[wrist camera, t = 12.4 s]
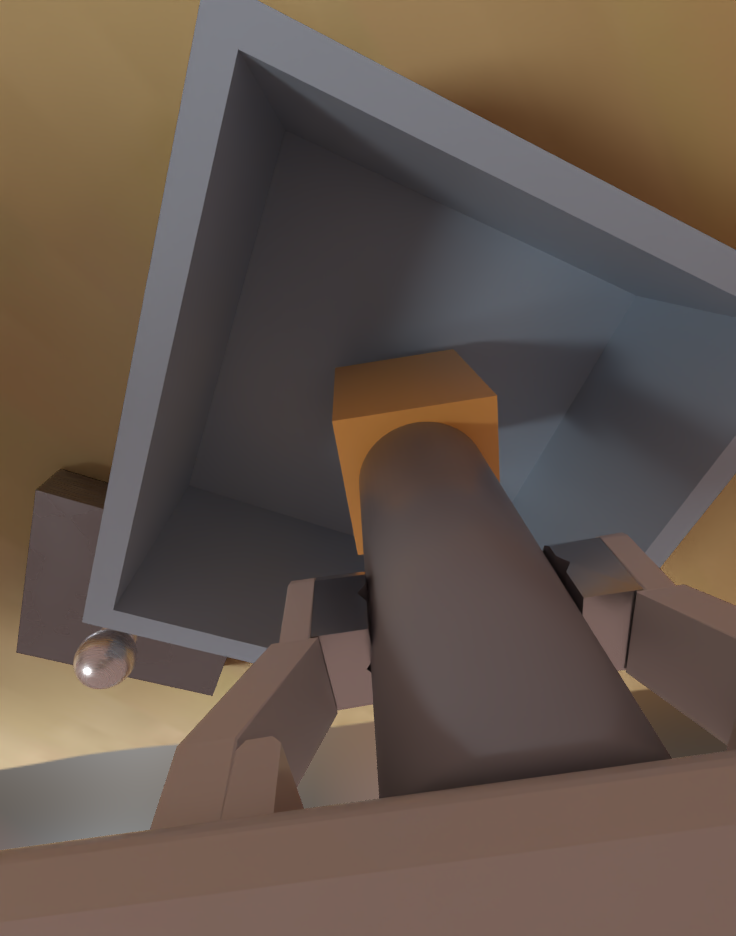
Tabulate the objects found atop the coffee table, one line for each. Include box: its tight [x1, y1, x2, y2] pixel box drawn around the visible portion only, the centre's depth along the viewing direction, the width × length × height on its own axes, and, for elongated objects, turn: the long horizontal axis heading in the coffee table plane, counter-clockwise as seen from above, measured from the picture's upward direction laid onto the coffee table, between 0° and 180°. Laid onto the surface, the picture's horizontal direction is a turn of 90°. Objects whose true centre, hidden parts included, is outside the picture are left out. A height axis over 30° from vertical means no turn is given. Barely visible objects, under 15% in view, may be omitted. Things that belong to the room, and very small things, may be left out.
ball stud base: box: [16, 469, 227, 696], centre depth 22 cm, size 10×10×6 cm
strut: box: [332, 349, 672, 799], centre depth 12 cm, size 4×4×15 cm
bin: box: [82, 0, 736, 663], centre depth 17 cm, size 16×16×9 cm
